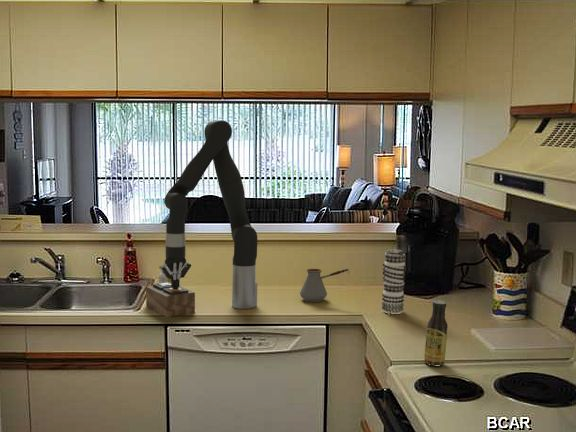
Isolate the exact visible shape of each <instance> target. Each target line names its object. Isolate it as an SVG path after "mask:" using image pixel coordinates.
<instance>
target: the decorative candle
mask: <svg viewBox="0 0 576 432" xmlns="http://www.w3.org/2000/svg"><path fill="white" fill-rule="evenodd" d="M384 255H385V257H384V263H382V266H383V268H382V275H383V276H382V279H383V280H382V283H383V285H384V286H383V293H382V302H381V305H382V306H381V309H382V310H383V311H385V312H388V313H399V312H401V311H403V310H404V301H405V300H404V298H405V295H404V285H405V280H406V277H405V276H407V275H406V273H405V272H406V271H407V269H406V267H407V265H406V263H405V262H406V261H405V257H406V254H405V253H404V252H403V250H401V249H397V248H394V249H393V248H391V249H388V250H387V251H386V252H385V253H384Z"/></svg>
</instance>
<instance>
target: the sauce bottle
mask: <svg viewBox="0 0 576 432" xmlns="http://www.w3.org/2000/svg"><path fill="white" fill-rule="evenodd" d="M446 308H447V302H446V301H443V300H433V301H432V313H431V317H430V319H429V320H428V323H427V327H426V334H425V343H424V344H425V345H424V356H423V358H424V360H425V361H424V363H425V362H426V363H427V364H430V365H442V364H443V365H444V363H445V361H446V349H447V340H448V339H447V338H448V328H449V326H448V322H447V320H446ZM426 363H425V364H426ZM427 364H426V365H427ZM430 365H429V366H430ZM443 365H442V366H443Z"/></svg>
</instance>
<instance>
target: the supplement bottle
mask: <svg viewBox="0 0 576 432" xmlns="http://www.w3.org/2000/svg"><path fill="white" fill-rule="evenodd" d="M167 271H168V272H169V273H170V270H169V269H168V267H167ZM165 282H171V279H169V278H167V277H166V276H165V275H164V273H163V272H162V271H161V272H160V273H158V283H165Z"/></svg>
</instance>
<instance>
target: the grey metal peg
mask: <svg viewBox="0 0 576 432" xmlns="http://www.w3.org/2000/svg"><path fill="white" fill-rule="evenodd" d="M158 285H160V286H162V287H164V286H171V284H169V283H161V284H158Z"/></svg>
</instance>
